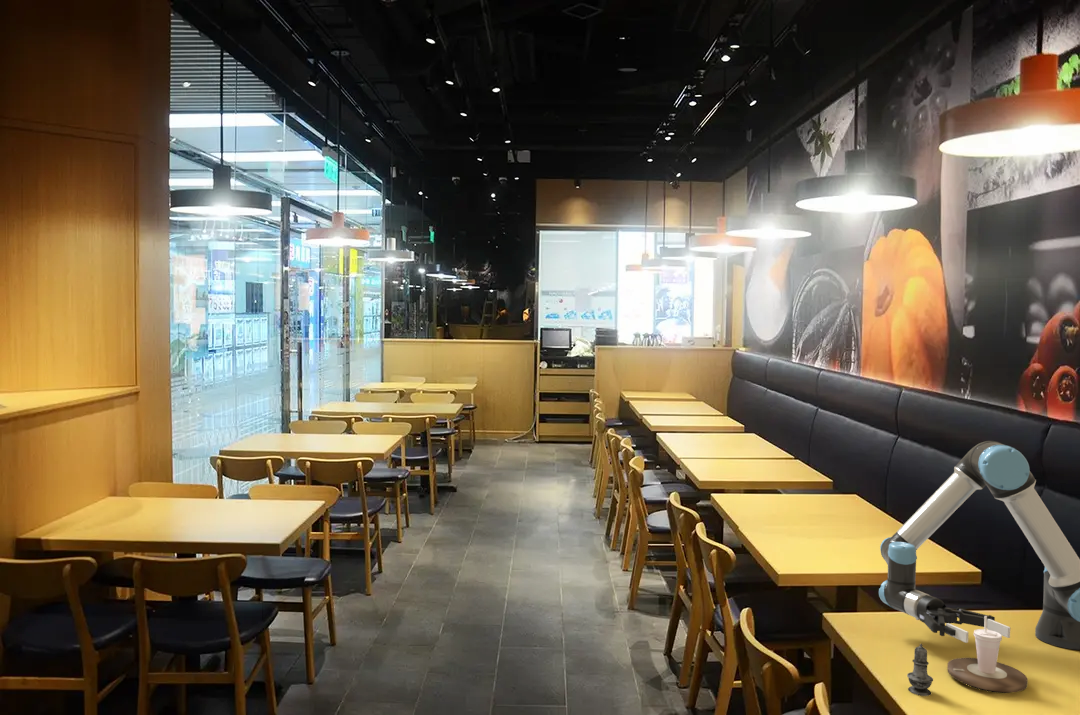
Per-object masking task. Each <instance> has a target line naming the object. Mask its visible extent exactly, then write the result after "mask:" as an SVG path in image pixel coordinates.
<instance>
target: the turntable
mask: <svg viewBox="0 0 1080 715" xmlns="http://www.w3.org/2000/svg"><path fill="white" fill-rule="evenodd" d="M946 668H947V669H946V670H947V673H948V675H949V676H951V677H952V678H953V679H955V680H956V681H959V682H961V683H962V684H964V683H965V684H964V685H966V684H967V685H966V686H968V685H970V686H973V687H977V688H980V689H985V690H990V691H996V692H1011V693H1017V692H1022V691H1024V690H1026V689H1027V688H1028V686H1029V682H1028V681H1029V680H1028V679H1029V678H1028V677H1027V675H1026V674H1025V673H1024V672H1022V671H1021V670H1019V669H1018V668H1015V667H1013V666H1010V665H1007V664H1005V663H1001V662H1000V661H999V662H998V661H997V663H996V669H995V673H993V674H989V673H984V672H981V671H979V668H978V659H977V657H957V658H953V659H950V660H949V661H948V663H947V667H946ZM970 686H969V687H970ZM973 687H972V688H973Z"/></svg>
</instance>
